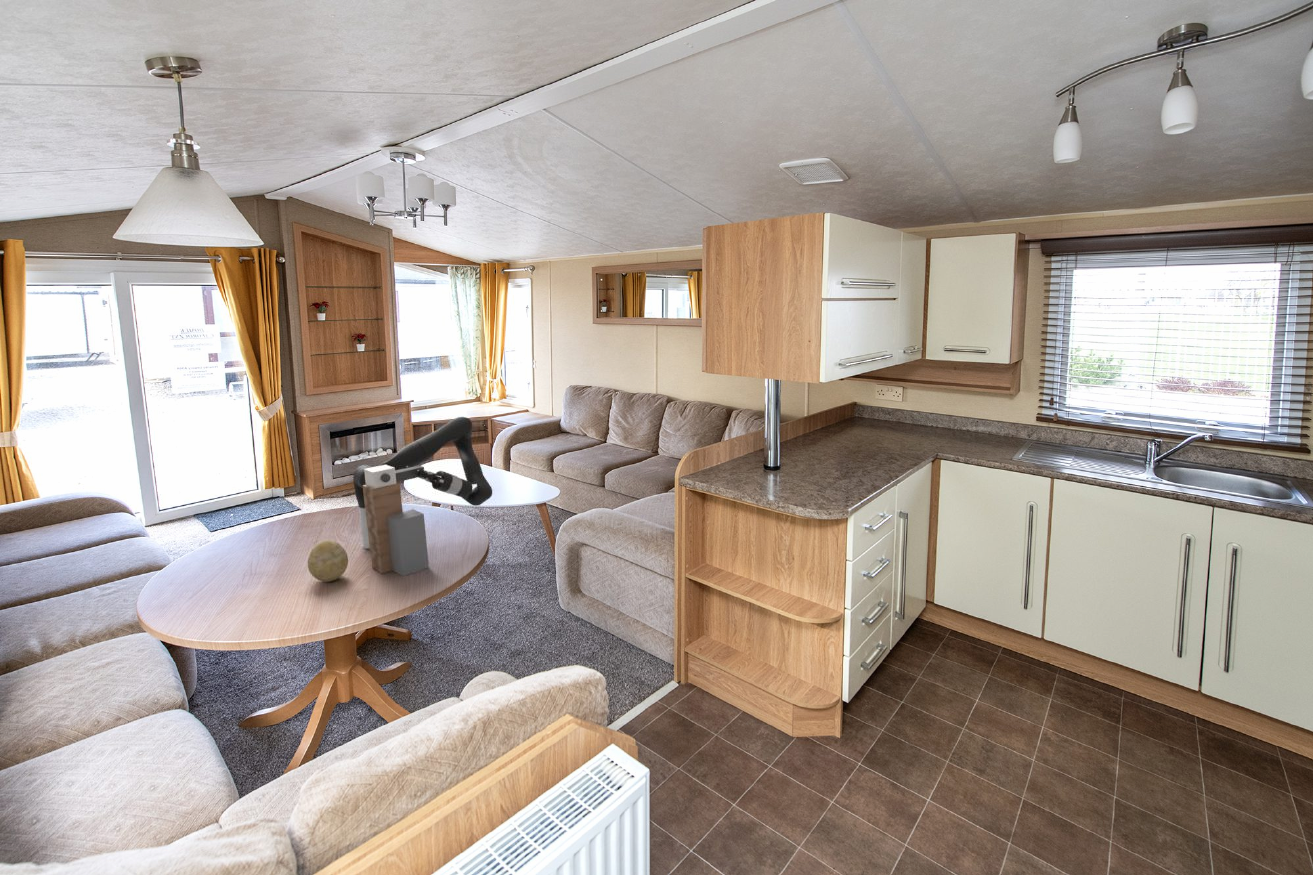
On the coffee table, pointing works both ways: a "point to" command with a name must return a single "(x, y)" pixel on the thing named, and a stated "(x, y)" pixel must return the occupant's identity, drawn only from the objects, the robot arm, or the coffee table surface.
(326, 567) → the fossilized egg
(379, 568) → the walnut post
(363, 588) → the coffee table surface
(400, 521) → the grey rectangular block
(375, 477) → the action camera
